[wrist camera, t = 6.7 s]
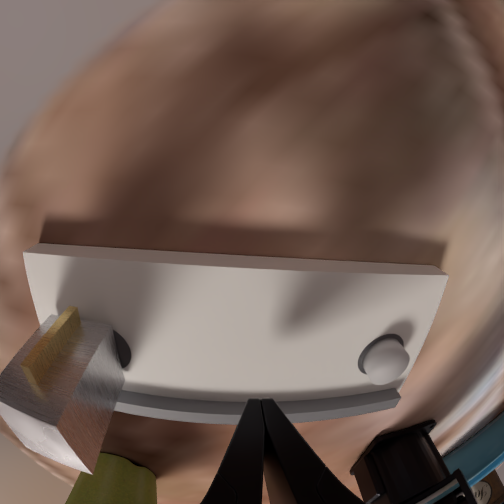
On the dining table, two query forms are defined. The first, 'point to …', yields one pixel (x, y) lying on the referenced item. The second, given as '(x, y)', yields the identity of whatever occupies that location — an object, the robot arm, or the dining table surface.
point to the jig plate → (245, 327)
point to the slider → (63, 389)
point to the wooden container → (489, 489)
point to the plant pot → (114, 483)
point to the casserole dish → (477, 455)
